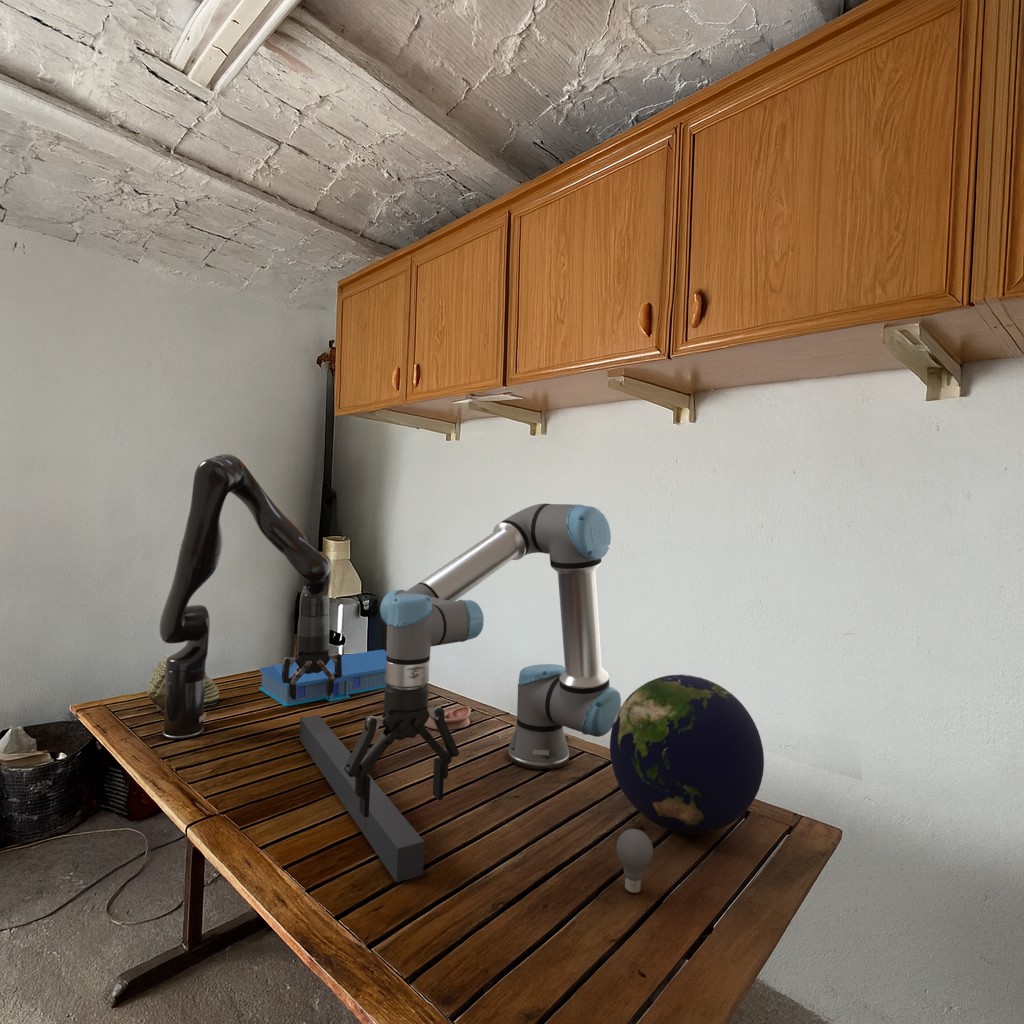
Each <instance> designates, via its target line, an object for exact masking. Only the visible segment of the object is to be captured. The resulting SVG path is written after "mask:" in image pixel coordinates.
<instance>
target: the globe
mask: <svg viewBox="0 0 1024 1024" xmlns="http://www.w3.org/2000/svg"><path fill="white" fill-rule="evenodd" d="M610 731H611V732H610V736H609V737H610V739H609V755H610V762H611V766H612V770H613V774H614V777H615V780H616V783H617V784H618V786H619V788H620V790H621V791H622V794H623V795H624V796H625V797H626V799H627V800H628V802H629V803H630V804H631V805H632V806H633V807H634V809H636V811H638V812H639V813H640V814H641V815H642V816H643V817H645V819H648V820H649V821H651V822H652V823H654V824H655V825H658V826H660V827H661V828H664V829H666V830H669V831H673V832H675V833H680V834H689V835H699V834H700V835H701V834H707V833H712V832H716V831H719V830H721V829H723V828H725V827H728V826H729V825H732V823H734V822H736V821H737V820H738V819H739V818H741V816H743V815H744V814H745V812H746V811H747V810H748V809H749V808H750V806H752V804H753V803H754V801H755V800H756V796H757V795H758V794H759V790H760V788H761V785H762V781H763V776H764V770H765V769H764V768H765V754H764V747H763V743H762V738H761V735H760V731H759V730H758V727H757V725H756V722H755V721H754V719H753V718H752V715H751V714H750V713H749V711H748V710H747V708H746V707H745V706H744V704H743V703H742V702H741V701H740V700H739V698H737V697H736V696H735V695H734V694H732V692H730V691H729V690H728V689H726V688H724V687H723V686H722V685H720V684H718V683H716V682H713V681H711V680H709V679H707V678H703V677H700V676H697V675H693V674H684V673H683V674H682V673H681V674H671V675H670V674H669V675H664V676H660V677H657V678H654V679H652V680H649V681H647V682H645V683H643V684H642V685H641V686H639V687H638V688H636V689H635V690H634V691H632V692H631V693H630V695H628V697H626V699H625V700H624V701H623V703H621V707H620V709H619V711H618V713H617V715H616V717H615V720H614V722H613V726H612V728H611V730H610Z"/></svg>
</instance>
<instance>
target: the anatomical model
mask: <svg viewBox="0 0 1024 1024" xmlns="http://www.w3.org/2000/svg"><path fill="white" fill-rule="evenodd" d="M471 713H472V710H471V707H470V706H468V705H465V706H461V707H460V706H459V707H457V708H453V709H450V710H447V711H444V716H445V722H446V724H447V726H448V729H449V730H457V729H462V728H466V727H468V726H469V725H470V724H471V721H470V717H471ZM424 727H425V728H429V729H432V730H437V731H438V729H437V726H436V724H435V722H434V720H433V719H431V717H430V716H429V719H428V720H427V722H426V723H425V725H424Z"/></svg>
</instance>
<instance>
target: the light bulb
mask: <svg viewBox="0 0 1024 1024" xmlns="http://www.w3.org/2000/svg"><path fill="white" fill-rule="evenodd" d="M615 849H616V854H617V857H618V859H619V861H620V863H621V865H622V867H623V873H624V874H623V875H624V876H625V878H624V888H625V890H627V891H628V892H630V893H634V894H635V893H639V892H640V891H641V889H642V887H641V886H642V879H643V877H644V875H645V871H646V868H647V867H648V866H649V864H650V863H651V861H652V859H653V855H654V847H653V843H652V841H651V838H649V836H648V835H647V834H646V833H645V832H643V831H642V830H641V829H636V828H629V829H627V830H625V831H623V832H622V833H621V834H620V835H619V837H618V839H617V841H616V847H615Z"/></svg>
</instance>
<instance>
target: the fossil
mask: <svg viewBox="0 0 1024 1024" xmlns="http://www.w3.org/2000/svg"><path fill="white" fill-rule="evenodd" d="M171 655H172V654H165V655H164V656H163V657H162V658H161V659H160V660H159V662H158V663H157V666H156V667H155V669H154V670H153V672H152V675H151V677H150V680H149V684H148V688H147V697H148V699H149V700H150V701H152V703H153V704H154V706H155V711H158V712H159V711H160V712H161V709H162V708H163V709H164V705H165V674H166V660H167V658H168V657H169V656H171ZM220 698H221V696H220V690H219V688H218V686H217V685H216V683H215V682H214V681H213V679H212V678H211V677H209V675H208V674H207V672H206V671H205V693H204V707H207V706H213V705H215V704H217V703H218V701H219V699H220Z"/></svg>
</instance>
